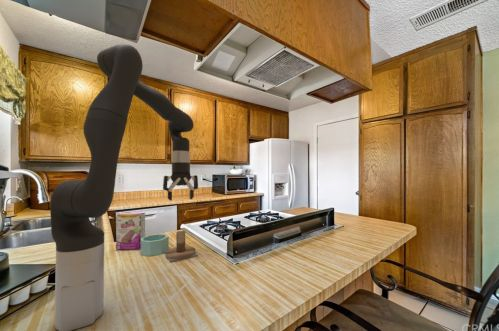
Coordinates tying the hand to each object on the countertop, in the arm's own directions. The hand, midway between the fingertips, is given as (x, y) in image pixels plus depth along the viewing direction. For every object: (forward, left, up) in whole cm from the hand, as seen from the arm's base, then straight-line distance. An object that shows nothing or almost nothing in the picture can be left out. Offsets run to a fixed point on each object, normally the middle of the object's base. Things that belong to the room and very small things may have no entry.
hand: (181, 199), depth 90 cm
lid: (0, 0, -23) cm, 23 cm away
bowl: (+11, +9, -23) cm, 27 cm away
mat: (0, 0, -23) cm, 23 cm away
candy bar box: (+21, +18, -24) cm, 36 cm away
